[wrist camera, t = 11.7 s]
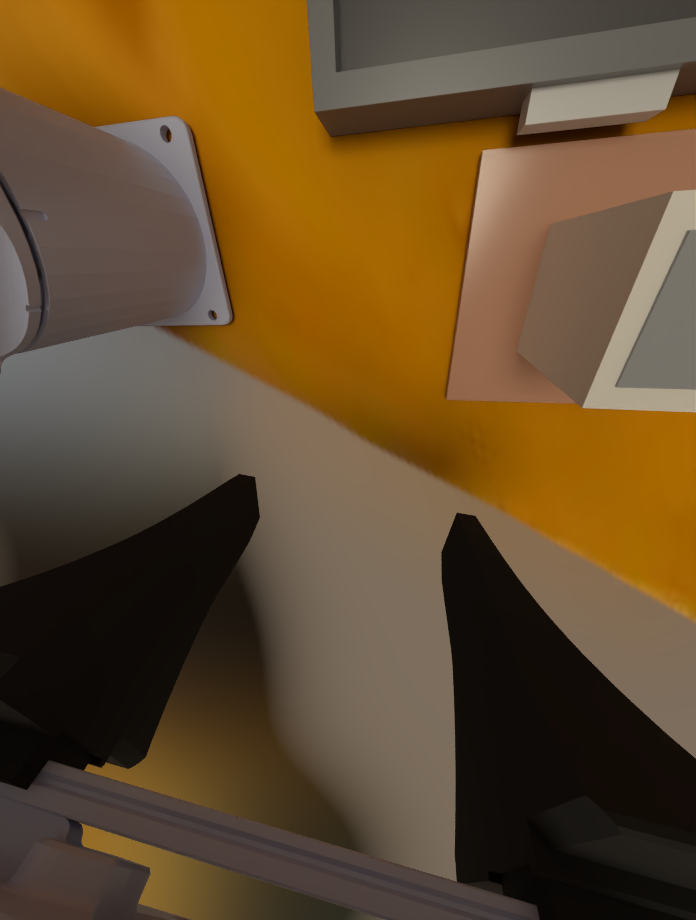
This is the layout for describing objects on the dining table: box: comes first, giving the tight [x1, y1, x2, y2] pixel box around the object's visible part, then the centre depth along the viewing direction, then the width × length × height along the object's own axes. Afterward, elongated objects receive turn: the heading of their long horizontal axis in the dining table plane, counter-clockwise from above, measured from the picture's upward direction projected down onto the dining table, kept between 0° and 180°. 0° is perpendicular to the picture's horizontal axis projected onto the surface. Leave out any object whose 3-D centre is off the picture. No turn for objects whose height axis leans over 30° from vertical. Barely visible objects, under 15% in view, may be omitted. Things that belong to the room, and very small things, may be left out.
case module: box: [517, 190, 696, 412], centre depth 10 cm, size 4×5×7 cm
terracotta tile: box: [445, 129, 696, 404], centre depth 14 cm, size 10×10×1 cm
